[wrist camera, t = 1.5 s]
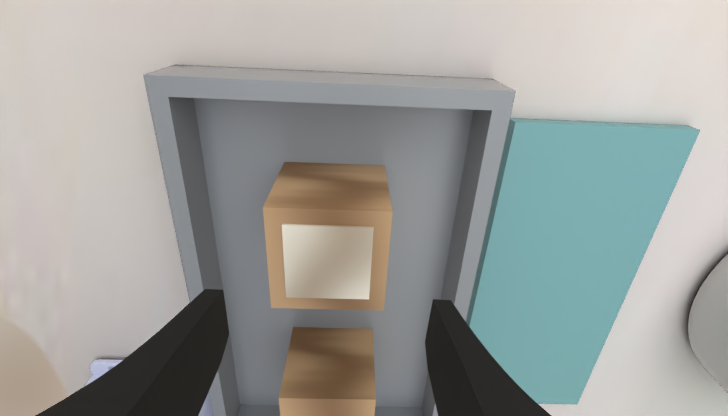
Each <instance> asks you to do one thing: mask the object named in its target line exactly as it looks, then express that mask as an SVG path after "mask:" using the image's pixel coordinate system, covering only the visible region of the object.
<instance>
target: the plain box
mask: <svg viewBox="0 0 728 416" xmlns="http://www.w3.org/2000/svg"><path fill="white" fill-rule="evenodd" d="M375 404H376V391H375V370H374V349H373V329H362V328H316V327H293V329H292V334H291V339H290V344H289V349H288V354H287V359H286V364H285V369H284V374H283V379H282V384H281V389H280V394H279V408H280V416H375Z"/></svg>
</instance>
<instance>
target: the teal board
mask: <svg viewBox="0 0 728 416" xmlns="http://www.w3.org/2000/svg"><path fill="white" fill-rule="evenodd" d="M699 132H700V130H699V129H696V128H693V127H690V126H684V125H660V124H636V123H612V122H588V121H564V120H539V119H515V118H510V120H509V125H508V130H507V134H506V139H505V143H504V148H503V152H502V157H501V162H500V166H499V171H498V175H497V180H496V185H495V189H494V194H493V198H492V203H491V208H490V212H489V217H488V221H487V226H486V230H485V235H484V240H483V244H482V249H481V253H480V258H479V263H478V267H477V272H476V276H475V281H474V286H473V290H472V295H471V299H470V304H469V308H468V313H467V318H466V323H467V324H468V325H469V327H470V328H471V330H472V331H473V332H474V334H475V335H476V336H477V338H478V339H479V340H480V341H481V343H482V344H483V345H484V347H485V348H486V349H487V350H488V352H489V353H490V354H491V355H492V357H493V358H494V359H495V360H496V361H497V362H498V364H499V365H500V366H501V367H502V368H503V369H504V371H505V372H506V373H507V374H508V375H509V376H510V377H511V378H512V379H513V380H514V381H515V382H516V383H517V384H518V385H519V386H520V387H521V388H522V389H523V390H524V391H525V392H526V393H527V394H528V395H529V396H530V397H531V398H532V399H533V400H534V401H535V402H536V403H537V404H577V403H578V401H579V399H580V397H581V395H582V392H583V390H584V388H585V386H586V383H587V381H588V379H589V377H590V374H591V372H592V370H593V368H594V366H595V363H596V361H597V359H598V357H599V354H600V352H601V350H602V348H603V346H604V343H605V341H606V339H607V337H608V334H609V332H610V330H611V328H612V326H613V323H614V321H615V319H616V317H617V314H618V312H619V310H620V308H621V306H622V303H623V301H624V299H625V297H626V294H627V292H628V290H629V288H630V285H631V283H632V281H633V279H634V277H635V274H636V272H637V270H638V268H639V265H640V263H641V261H642V259H643V257H644V254H645V252H646V250H647V248H648V245H649V243H650V241H651V239H652V237H653V234H654V232H655V230H656V228H657V225H658V223H659V221H660V219H661V216H662V214H663V212H664V210H665V208H666V205H667V203H668V201H669V199H670V196H671V194H672V192H673V190H674V188H675V185H676V183H677V181H678V179H679V176H680V174H681V172H682V170H683V168H684V165H685V163H686V161H687V159H688V156H689V154H690V152H691V150H692V148H693V145H694V143H695V141H696V139H697V136H698V134H699Z"/></svg>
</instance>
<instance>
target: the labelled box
mask: <svg viewBox="0 0 728 416" xmlns="http://www.w3.org/2000/svg"><path fill="white" fill-rule="evenodd" d="M392 213H393V211H392V205H391V199H390V194H389V188H388V182H387V177H386V171H385V165H362V164H334V163H307V162H284V164H283V166H282V168H281V170H280V172H279V174H278V176H277V179H276V181H275V183H274V185H273V187H272V189H271V191H270V193H269V195H268V198H267V200H266V202H265V204H264V206H263V216H264V228H265V240H266V252H267V264H268V276H269V288H270V300H271V308H294V309H336V310H379V311H384V303H385V292H386V281H387V269H388V258H389V247H390V236H391V225H392Z"/></svg>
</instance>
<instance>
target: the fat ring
mask: <svg viewBox="0 0 728 416" xmlns="http://www.w3.org/2000/svg"><path fill="white" fill-rule="evenodd" d="M688 335H689V341H690V345H691V347H692V350H693V352H694V354H695V356H696V358H697V359H698V361H699V362H700V364H701V365H702V366H703V367H704V368H705V369H706V370H707V372H708V373H709V374H710V375H711V376H712V377H713V378H714V379H715V380H716V381H717V382H718V383H719V384H720V385H721V386H722V387H723V388H724V389H725V390H726V391H727V392H728V254H727V255H726V256H725V257H724V258H723V259H722V260H721V261H720V262H719V263H718V264H717V265H716V266H715V268H714V269H713V270H712V271H711V272H710V274H709V275H708V276H707V278H706V279H705V281H704V282H703V284H702V285H701V287H700V289H699V291H698V292H697V295H696V297H695V299H694V301H693V304H692V307H691V310H690V314H689V321H688Z"/></svg>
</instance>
